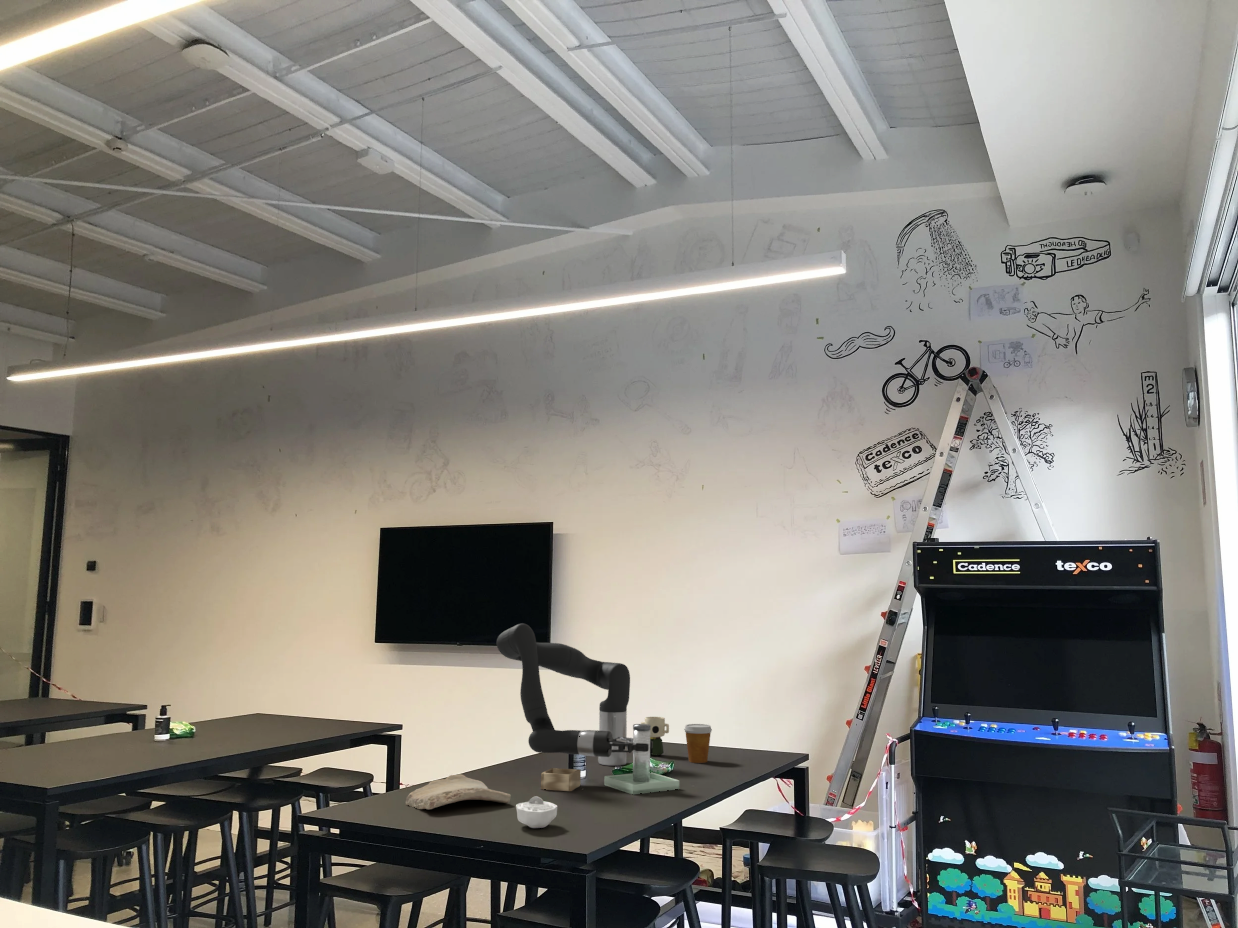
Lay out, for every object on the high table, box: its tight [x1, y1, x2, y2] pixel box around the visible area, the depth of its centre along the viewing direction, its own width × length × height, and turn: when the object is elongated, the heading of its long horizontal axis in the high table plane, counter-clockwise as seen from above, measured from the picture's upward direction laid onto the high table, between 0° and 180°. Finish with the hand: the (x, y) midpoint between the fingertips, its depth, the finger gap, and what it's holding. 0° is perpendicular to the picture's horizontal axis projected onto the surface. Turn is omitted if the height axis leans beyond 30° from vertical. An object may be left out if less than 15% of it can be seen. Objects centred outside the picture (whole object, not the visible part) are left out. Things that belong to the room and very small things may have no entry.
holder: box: [540, 767, 582, 792], centre depth 285 cm, size 9×9×4 cm
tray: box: [604, 771, 680, 795], centre depth 286 cm, size 16×16×2 cm
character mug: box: [640, 716, 670, 757], centre depth 345 cm, size 11×7×13 cm, turn 64°
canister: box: [632, 723, 651, 782], centre depth 287 cm, size 5×5×16 cm
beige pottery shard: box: [405, 773, 512, 810], centre depth 261 cm, size 24×8×20 cm
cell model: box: [515, 795, 558, 829], centre depth 236 cm, size 10×12×7 cm
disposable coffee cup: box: [683, 723, 713, 764], centre depth 332 cm, size 10×10×12 cm
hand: (650, 746), depth 287 cm, fingers closed on canister, 5 cm apart
